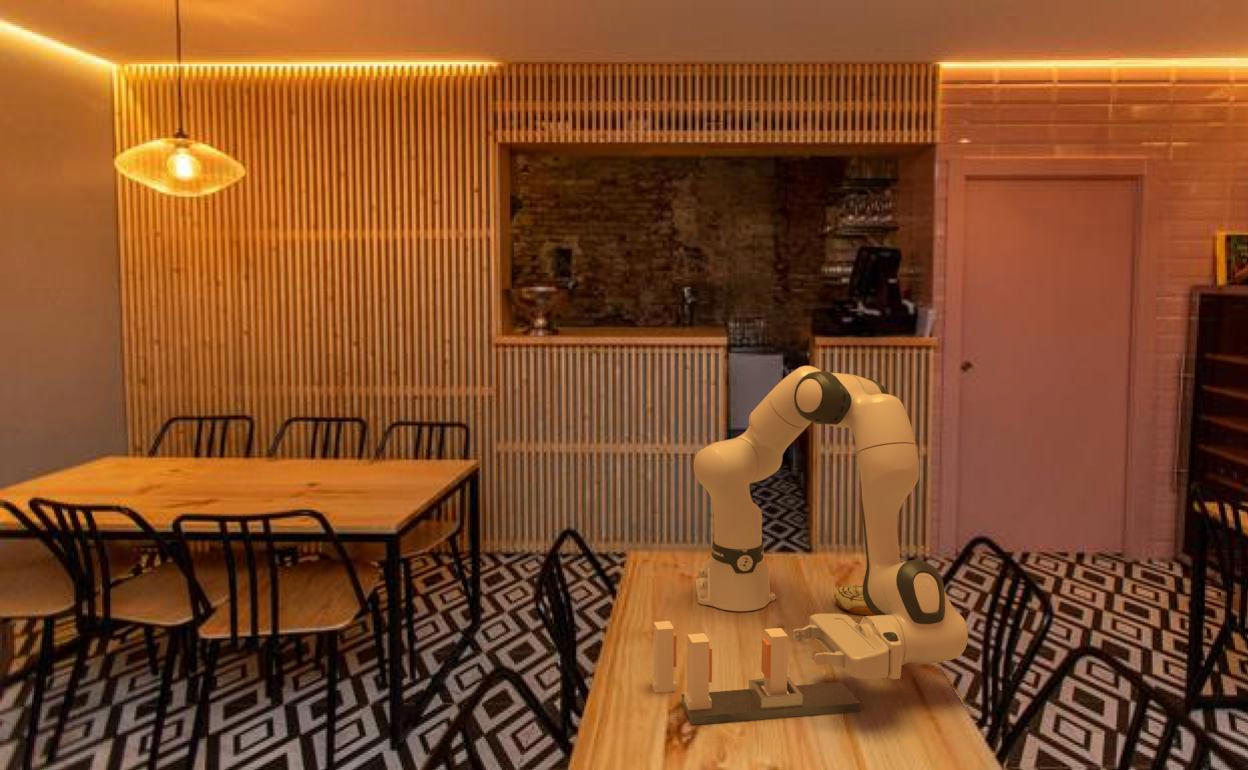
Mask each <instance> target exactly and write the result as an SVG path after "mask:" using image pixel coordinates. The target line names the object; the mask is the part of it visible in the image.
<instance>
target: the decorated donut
mask: <svg viewBox="0 0 1248 770" xmlns="http://www.w3.org/2000/svg"><path fill="white" fill-rule="evenodd" d="M833 598H834V601H835V603H836V604H837V606H838V607H839V608H840V609H841V610H844V611H847V612H849V613H850V614H853V615H855V614H856V615H860V616H861V615H862V616H864V615H865V616H874V614H873V613H872V612H871V611H870V610H869V608H868V607H867V605H866V603H865V601H864V598H863V584H847V585H841V586H838V587H837V588H836V589H835V590H834V592H833Z"/></svg>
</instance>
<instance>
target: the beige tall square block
mask: <svg viewBox="0 0 1248 770" xmlns="http://www.w3.org/2000/svg"><path fill="white" fill-rule="evenodd" d="M788 645H789V636H788V634H787V633H786V632H785V631H784V630H783V628H781V627H779V628H778V627H775V628H765V629H764V637H763V638H761V667H760V668H761V670H760V671H761V673H762V674H763V679H764V686H761V692H762V693H763V694H764V696H767V695H780V694H789V692H788V691H787V677H788V662H789V661H788V655H789V653H788V652H789V651H788V650H789V649H788V648H789V646H788Z"/></svg>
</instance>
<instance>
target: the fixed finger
mask: <svg viewBox="0 0 1248 770" xmlns="http://www.w3.org/2000/svg"><path fill="white" fill-rule="evenodd" d="M686 638H687V639H686V640H687V641H686V643H687V645H686V647H687V648H686V649H687V651H686V653H687V655H686V658H687V659H686V663H687V664H686V665H687V667H686V691H684V692H683V694H684V701H685V703H686V705H687V707H688V710H698V709H710V708H712V700H711V698H710V696H709V692H710V683H713V648H712V647H711V645H710V640H709V639H708V637H707V635H706V634H705V632H704V633H701V632H700V633H690V634H689V633H688V634H687V637H686Z"/></svg>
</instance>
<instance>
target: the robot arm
mask: <svg viewBox="0 0 1248 770" xmlns="http://www.w3.org/2000/svg"><path fill="white" fill-rule="evenodd" d="M904 406H905V405H904V404H903V402H902V401H901V400H900V399H899V398H898V397H897V396H895V395H892V394H890V393H889V391H888V390H887V388H886V386H884V385H883V384H881V383H880V382H878V381H876V380H875V379H872V378H867V377H862V376H860V375H856V374H851V373H840V372H830V371H825V370H823V371H822V370H821V369H819V368H817V367H815V366H812V365H803V366H799V367H798V368H796V369H795V370H793V371H792V372H790V373H789V374H787V376H785V377H784V378H783V379H782V380H780V381H779V382H778V384H776V385H775V386H774V387H773V388H772V390H770V392H768V393H767V395H766V396H765V397H764V398H763V399H762V400H761V401H760V402H759V404H757V406H756V407H755V408H754V409H753V410H752V411H751V412H750V414H749V416H748V417H749V418H748V427H747V428H746V430H745V431H744V432H743V433H742V434H740V435H739V436H736V437H733V438H730V439H725V440H720V441H715V442H712V443H711V444H709V445H707V446H705V447H704V448H702V449H700V450H698V452H697V453H696V455H695V457H694V459H693V471H694V476H695V478H696V480H697V482H698V483H699V484H700V486H702V487H704V488H705V489H706V491H707V493H708V495H709V497H710V500H711V501H710V502H711V503H712V509H713V521H714V523H713V525H714V527H713V528H714V529H713V531H714V533H713V535H714V538H713V539H714V540H713V541H712V545H711V551H710V553H711V556H710V557H709V558H708V559H707V560H706V562H704V567H700V568H698V577H699V578H696V579H695V591H696V598H697V603H698V604H701V605H702V606H703V605H704V606H705V605H706V606H711V607H713V608H717V609H720V610H725V611H732V612H750V611H756V610H760V609H762V608H765V607H766V606H767V605H768V604H770V602H774V601H775V600H776V599H777V597H776V594H775V593H774V592H773V591H771V585H770V583H771V581H770V567H769V565H768V564H767V563H766V562H765V561H764V552H765V548H764V543H763V542H762V539H763V537H762V535H763V512H762V510H761V508H760V507H759V505H758V504H756V503H754V502H753V498H752V496H751V492H750V490H751V489H750V484H754V483H757V482H761V481H764V480H766V479H768V478H770V477H771V476H772V475H774V474H776V473H777V471H779V470H780V468H781V467H782V463H783V457H784V453H785V452H786V450H787V448H788V447H789V446H790V445H791V444H792V443H793V442H794V441H795V440H796V439H797V438H798V437H799V436H800V435H801V434H802V433H803V432H804V431H805V430H806V429H807V427H808V426H810V424H811V423H814V424H817V425H825V426H830V427H835V428H841V429H842V428H847V429H850V431H851V432H852V434H853V438H854V443H855V449H856V456H857V462H858V468H859V475H860V482H861V510H862V511H861V512H862V514H861V515H862V526H863V535H864V546H865V548H864V549H865V556H866V557H865V558H866V567H865V568H866V569H865V574H864V578H863V583H862V585H863V598H864V601H865V603H866V605H867V607H868V608H869V610H870V611H871V612H872V613H873V615H865V616H863V617H862V618H861V620H860V622H859V621H858V620H855V619H853V618H852V617H850V615H847V614H842V613H814V614H812V615H809V621H808V622H809V623H808V625H806V626H804V627H803V628H802V627H801V628H795V629H793V630H792V638H793V639H794V641H796V642H798V643H799V642H805V641H806V640H807V639H811V640H816V641H817V643H819V644H820V645H821V647H823V648H824V650H826V652H825V651H823V650H814V651H812V661H813V662H814V663H815V664H816V665H827V666H833V667H837V668H840V667H841V668H842V669H843V670H844V671H845V672H846V673H847V674H848V675H849V676H850V677H852V678H855V679H858V680H879V679H881V680H882V679H886V678H888V679H889V680H900V679H901V676H902V668H903V667H902V666H903V665H906V664H911V663H912V664H915V665H916V664H917V665H925V664H935V663H938V664H939V663H943V662H944V663H945V662H949V661H952V660H954V659H956V658H958V657H960V656H961V655H963V653H964V651H965V650H966V647H967V645H968V641H969V630H968V625H967V622H966V620H965V618H964V617H963V616H962V615H961V614H960V613H959V612H958V611H957V610H956V609H955V607H954V606H953V604H952V603H951V601H950V599H949V597H948V595H947V593H946V590H945V586H944V584H945V583H944V581H943V578H942V575H941V573H940V572H939V571H938V570H937V569H936V567H934V566H933V565H932V564H930V563H928V562H927V561H926V560H921V559H910V560H907V561H906V560H905V561H902V562H901V557H900V556H901V555H900V547H899V538H898V537H899V536H898V525H897V521H898V516H899V513H900V510H901V507H902V506H903V504H904V502H905V500H906V499H907V497H908V496H909V495H910V493H911V492H912V491H913V490H914V488H916V485H917V483H918V481H919V479H920V478H919V477H920V460H919V455H918V453H919V452H918V449H917V445H916V444H917V443H916V440H915V435H914V431H913V428H912V424H911V421H910V419H909V416H908V413H907V411H906V409H905V407H904Z"/></svg>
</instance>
